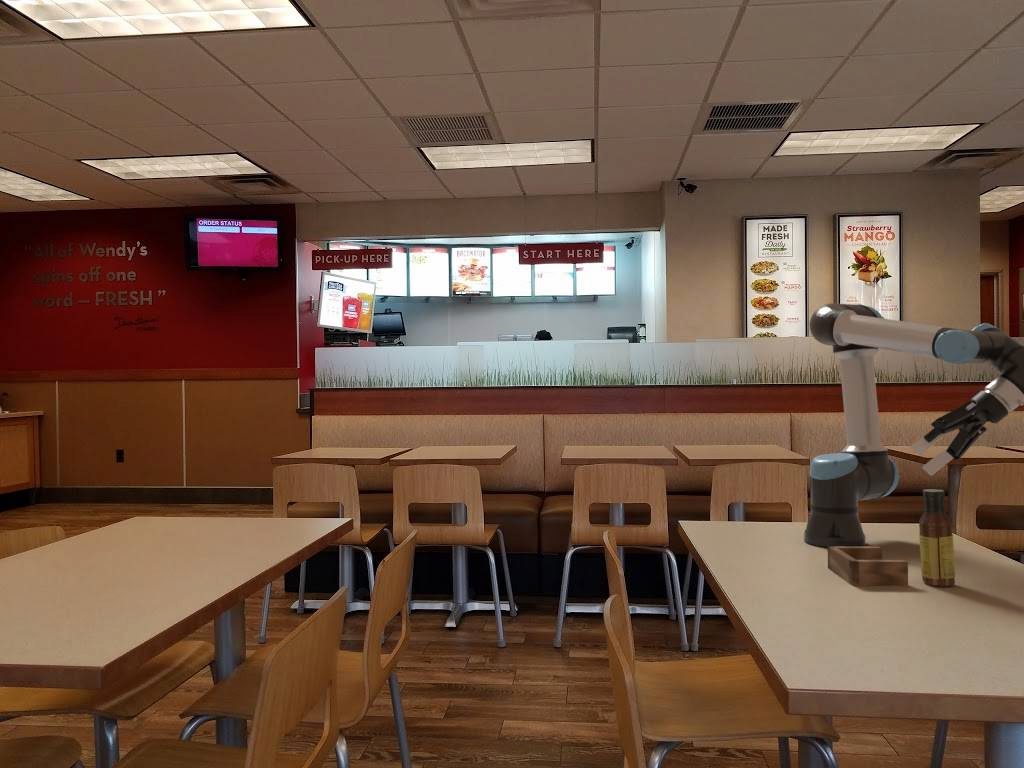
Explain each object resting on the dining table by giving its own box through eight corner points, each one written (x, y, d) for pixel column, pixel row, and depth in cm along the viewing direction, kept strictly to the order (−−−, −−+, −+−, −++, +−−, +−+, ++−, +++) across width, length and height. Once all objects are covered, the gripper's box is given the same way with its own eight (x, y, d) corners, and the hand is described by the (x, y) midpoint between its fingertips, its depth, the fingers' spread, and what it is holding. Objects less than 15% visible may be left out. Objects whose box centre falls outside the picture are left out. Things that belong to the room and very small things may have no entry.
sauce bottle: (953, 582, 162) (952, 488, 162) (956, 589, 156) (955, 492, 156) (918, 579, 165) (917, 487, 165) (920, 586, 159) (919, 491, 159)
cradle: (879, 568, 175) (879, 546, 175) (908, 585, 160) (907, 561, 160) (827, 568, 176) (827, 546, 176) (851, 585, 161) (851, 561, 161)
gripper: (1003, 388, 163) (922, 453, 167) (1016, 432, 181) (943, 490, 184) (974, 367, 168) (897, 430, 172) (990, 412, 186) (919, 469, 190)
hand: (920, 461), depth 178 cm, fingers open, 13 cm apart
